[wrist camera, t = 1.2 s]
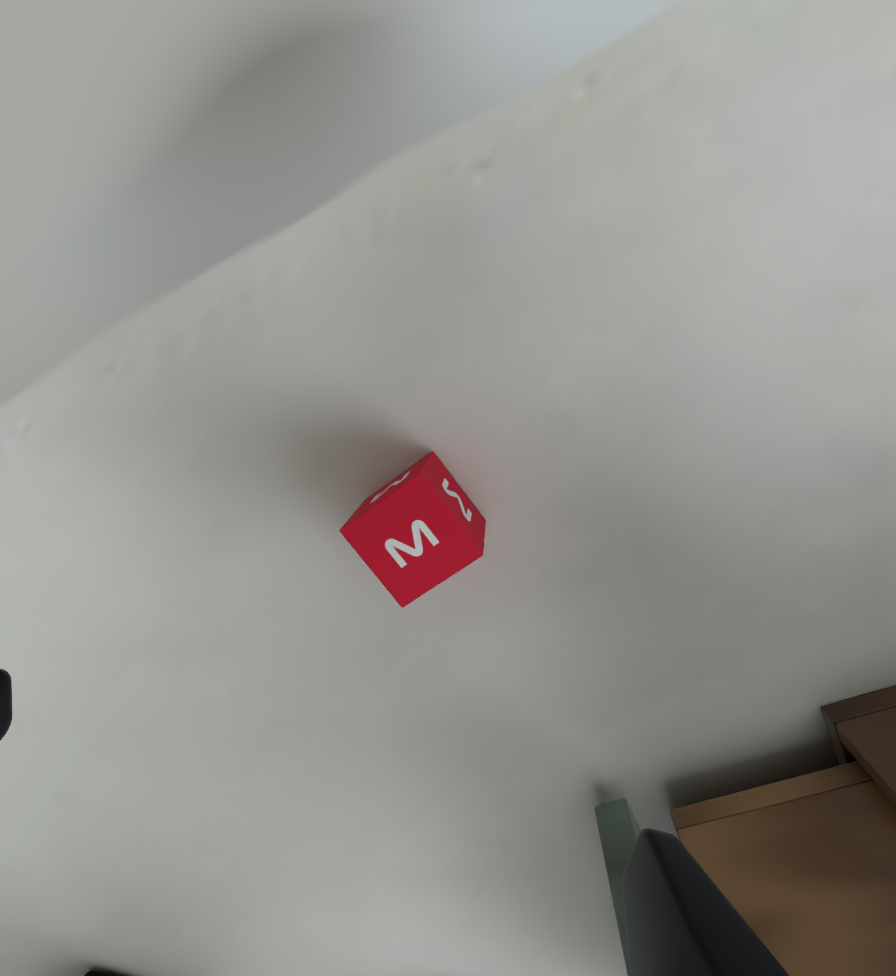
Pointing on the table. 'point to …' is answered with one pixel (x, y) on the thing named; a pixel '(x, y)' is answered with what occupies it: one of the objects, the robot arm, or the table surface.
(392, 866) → the table surface
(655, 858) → the robot arm
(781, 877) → the drawer
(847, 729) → the cabinet
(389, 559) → the red letter m cube
